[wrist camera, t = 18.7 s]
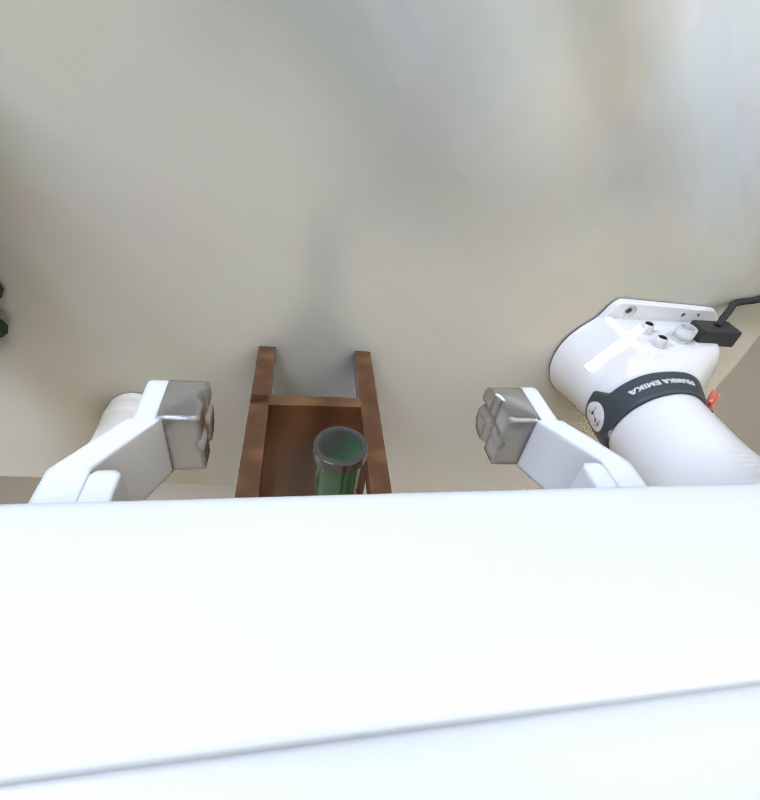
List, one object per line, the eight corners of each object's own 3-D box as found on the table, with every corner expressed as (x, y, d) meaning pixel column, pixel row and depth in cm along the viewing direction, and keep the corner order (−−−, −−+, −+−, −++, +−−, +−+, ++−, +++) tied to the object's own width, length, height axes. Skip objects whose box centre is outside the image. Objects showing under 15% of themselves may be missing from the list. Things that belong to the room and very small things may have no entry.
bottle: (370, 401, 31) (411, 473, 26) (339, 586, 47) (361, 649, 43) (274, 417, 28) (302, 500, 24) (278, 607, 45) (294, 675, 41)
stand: (370, 351, 59) (398, 535, 39) (354, 454, 72) (369, 632, 52) (259, 346, 56) (228, 538, 36) (263, 453, 69) (243, 639, 49)
